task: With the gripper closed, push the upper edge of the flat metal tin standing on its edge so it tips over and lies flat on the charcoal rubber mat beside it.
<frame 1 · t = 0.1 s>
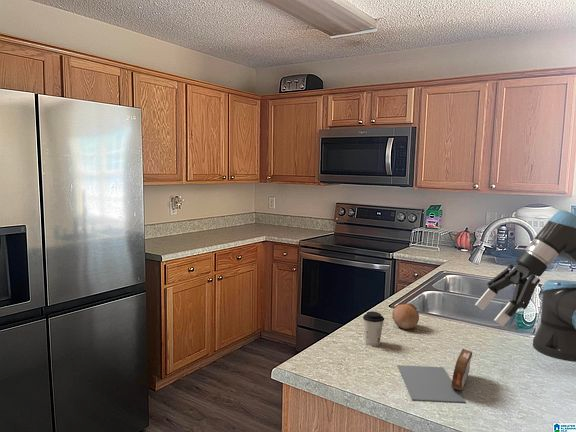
hand: (487, 315, 126), 15 cm above the countertop, tool tilted 35°, fingers open, 13 cm apart
onion: (405, 328, 158), on the countertop
tin: (460, 384, 116), on the countertop, touching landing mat
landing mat: (428, 382, 116), on the countertop
coffee cup: (372, 343, 143), on the countertop
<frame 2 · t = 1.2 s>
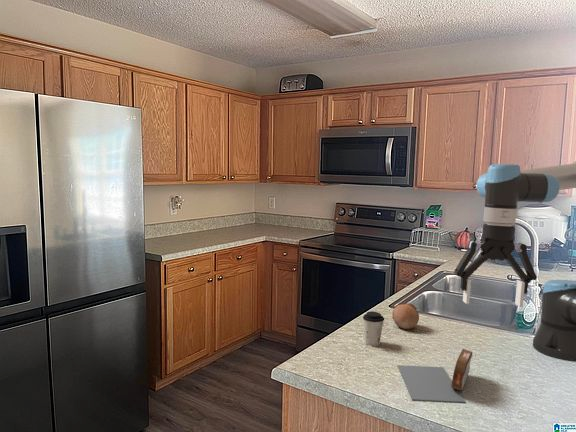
hand: (492, 304, 113), 22 cm above the countertop, tool pointing down, fingers open, 13 cm apart
nothing on the countertop moved.
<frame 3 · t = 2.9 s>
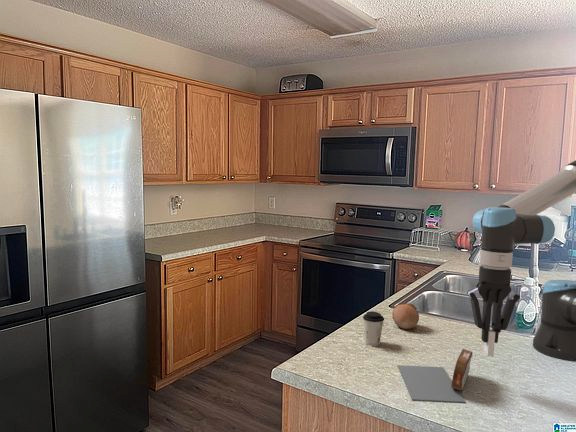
hand: (488, 353, 114), 9 cm above the countertop, tool pointing down, fingers closed
nothing on the countertop moved.
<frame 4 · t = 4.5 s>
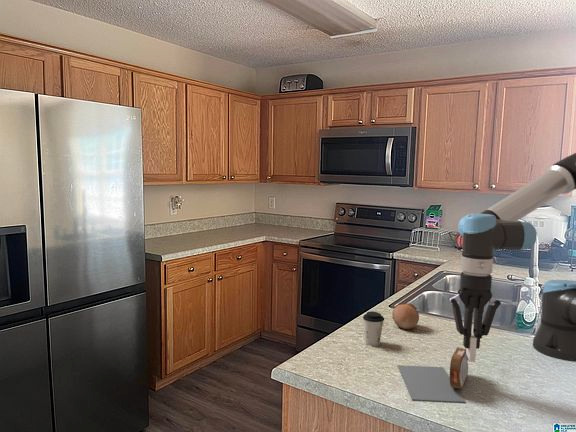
hand: (470, 359, 115), 7 cm above the countertop, tool pointing down, fingers closed
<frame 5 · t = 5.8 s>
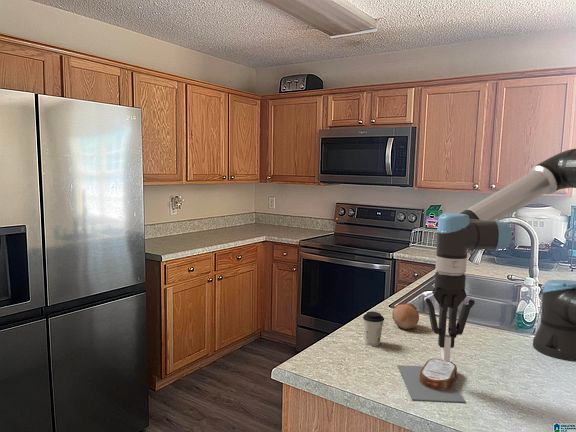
hand: (445, 358, 115), 7 cm above the countertop, tool pointing down, fingers closed
tin: (455, 376, 116), point 2 cm above the countertop, touching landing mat
everything else where it was.
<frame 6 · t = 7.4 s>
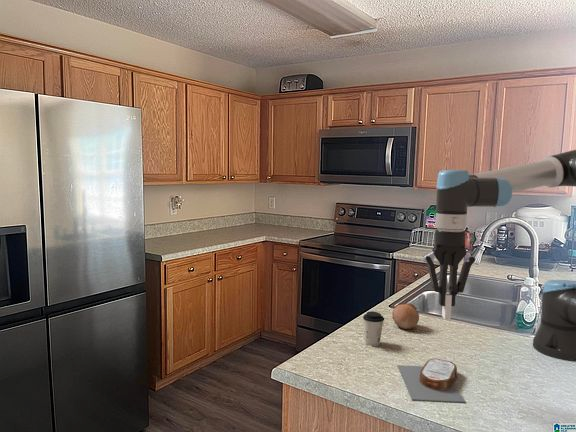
hand: (446, 317, 114), 18 cm above the countertop, tool pointing down, fingers closed
nothing on the countertop moved.
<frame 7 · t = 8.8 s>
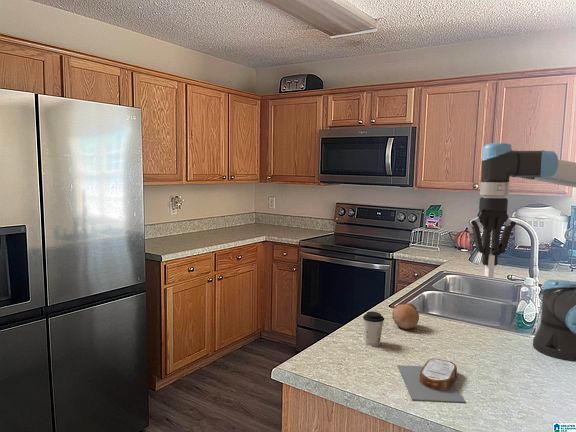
hand: (488, 276, 128), 26 cm above the countertop, tool pointing down, fingers closed
nothing on the countertop moved.
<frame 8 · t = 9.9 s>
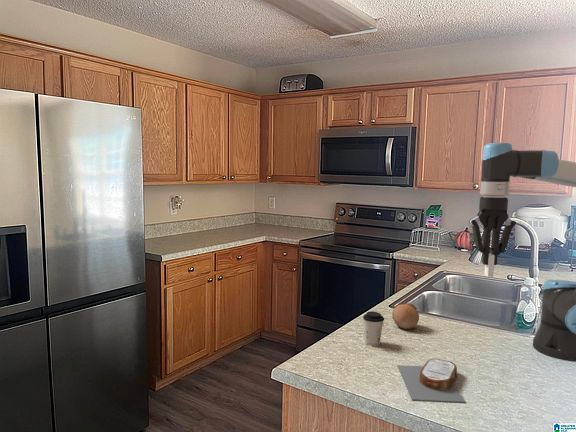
hand: (488, 275, 128), 26 cm above the countertop, tool pointing down, fingers closed
nothing on the countertop moved.
at the end: tin tilted 94°; tin touching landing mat; tin inside the target area (3.7 cm from its centre), point 1.9 cm above the countertop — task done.
